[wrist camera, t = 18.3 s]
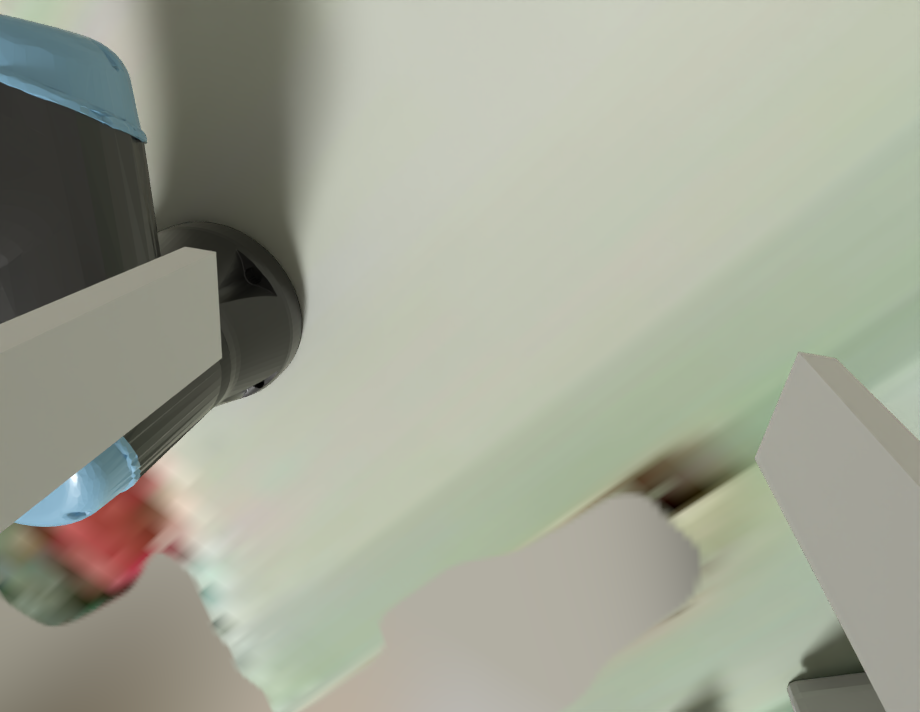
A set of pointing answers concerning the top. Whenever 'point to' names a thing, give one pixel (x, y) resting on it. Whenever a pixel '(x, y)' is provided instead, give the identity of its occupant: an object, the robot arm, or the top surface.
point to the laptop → (835, 694)
